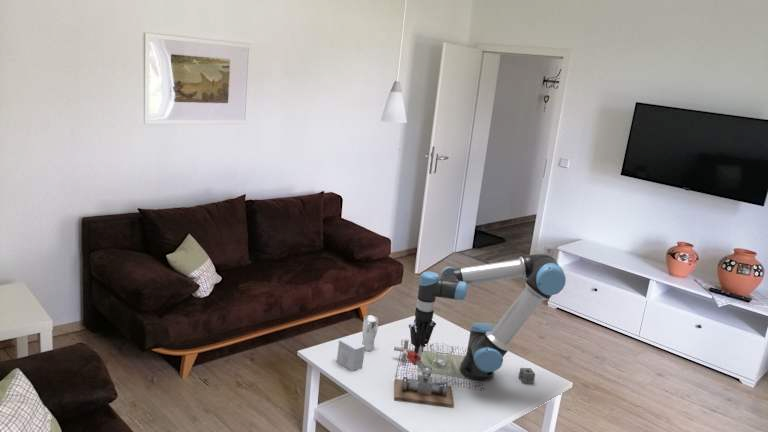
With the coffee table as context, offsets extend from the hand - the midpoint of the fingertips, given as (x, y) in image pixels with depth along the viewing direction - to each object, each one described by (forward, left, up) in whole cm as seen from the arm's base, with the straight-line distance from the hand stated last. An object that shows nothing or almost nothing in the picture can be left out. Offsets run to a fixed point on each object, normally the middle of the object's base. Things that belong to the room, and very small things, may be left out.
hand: (417, 359), depth 261 cm
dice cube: (-50, -11, -10) cm, 53 cm away
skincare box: (+28, -6, -10) cm, 31 cm away
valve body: (-3, +11, -10) cm, 15 cm away
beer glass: (+22, -23, -10) cm, 33 cm away
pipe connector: (+5, -16, -10) cm, 20 cm away
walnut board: (-3, +11, -10) cm, 15 cm away
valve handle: (0, +5, -1) cm, 5 cm away
